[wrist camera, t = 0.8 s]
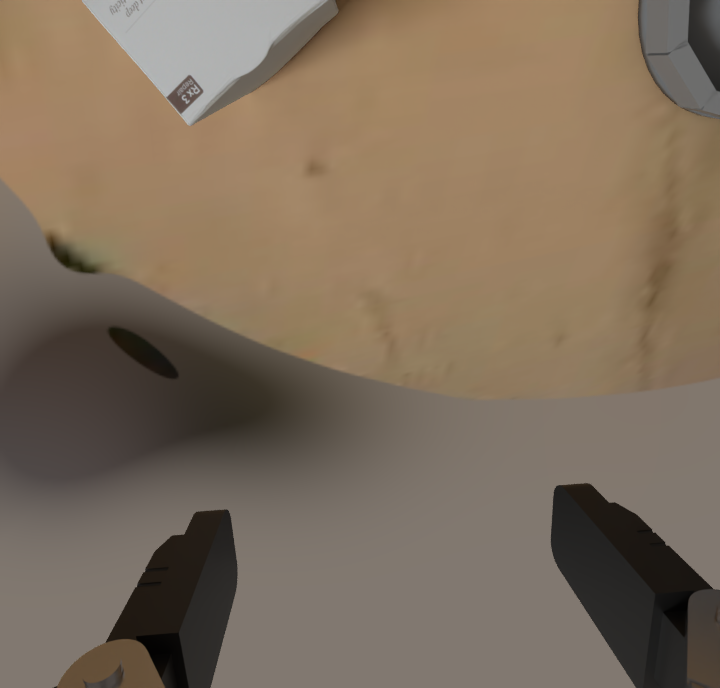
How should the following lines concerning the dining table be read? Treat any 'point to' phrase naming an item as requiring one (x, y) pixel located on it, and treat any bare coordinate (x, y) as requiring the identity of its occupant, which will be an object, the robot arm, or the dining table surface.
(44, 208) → the dining table surface
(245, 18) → the skincare box
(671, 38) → the round tray
